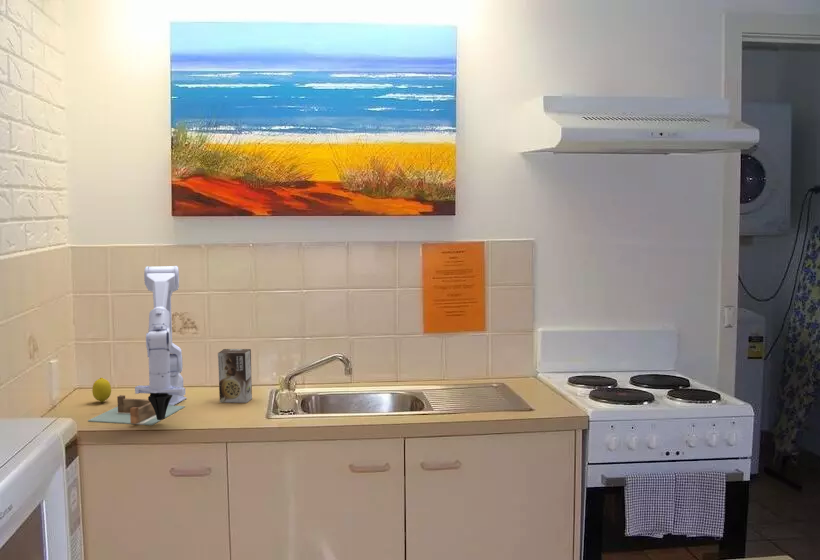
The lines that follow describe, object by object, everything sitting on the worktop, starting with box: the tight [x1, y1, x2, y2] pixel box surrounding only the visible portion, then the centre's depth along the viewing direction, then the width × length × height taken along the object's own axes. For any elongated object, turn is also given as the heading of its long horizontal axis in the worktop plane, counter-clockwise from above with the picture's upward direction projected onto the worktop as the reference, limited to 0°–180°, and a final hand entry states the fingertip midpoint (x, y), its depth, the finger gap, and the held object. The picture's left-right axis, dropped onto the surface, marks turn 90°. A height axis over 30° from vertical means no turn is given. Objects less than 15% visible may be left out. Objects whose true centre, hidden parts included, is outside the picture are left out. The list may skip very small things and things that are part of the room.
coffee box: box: [217, 348, 253, 404], centre depth 255 cm, size 9×6×16 cm
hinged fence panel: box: [130, 403, 156, 425], centre depth 232 cm, size 11×2×4 cm, turn 166°
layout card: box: [87, 405, 186, 426], centre depth 240 cm, size 20×20×1 cm
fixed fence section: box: [116, 394, 156, 415], centre depth 239 cm, size 13×2×5 cm, turn 79°
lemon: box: [91, 377, 112, 403], centre depth 253 cm, size 6×6×8 cm
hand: (161, 419), depth 229 cm, fingers closed
